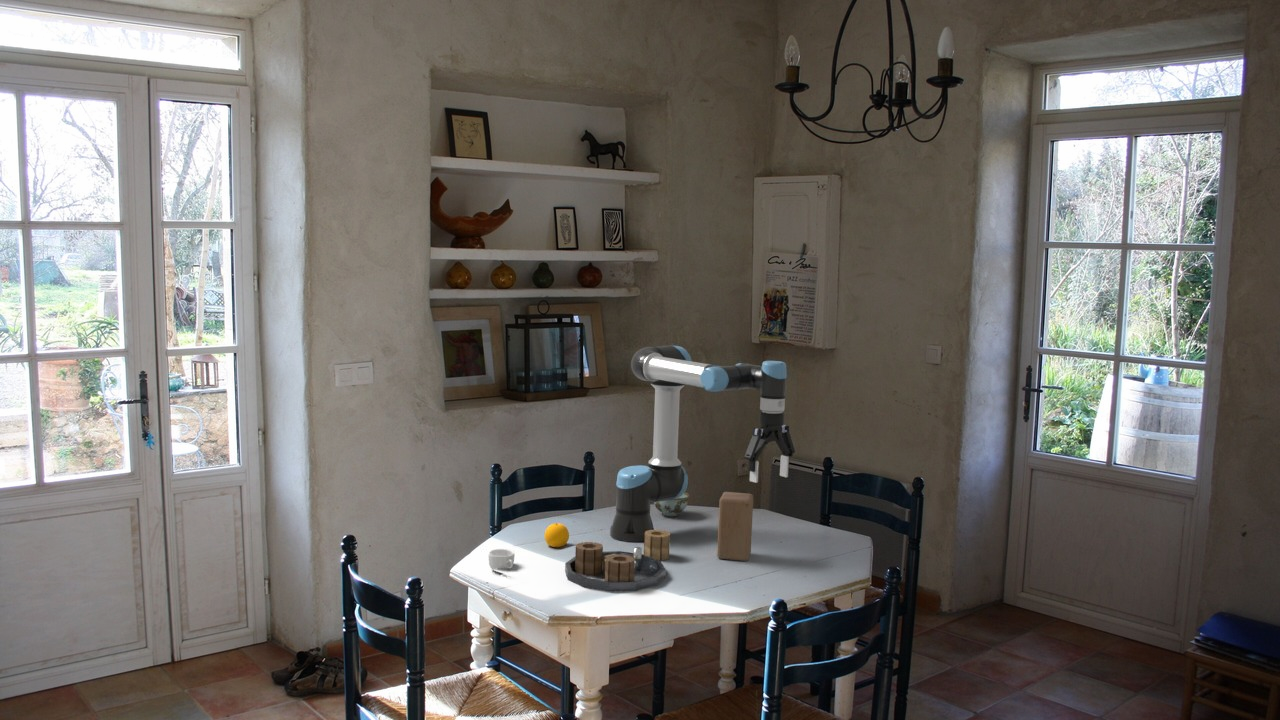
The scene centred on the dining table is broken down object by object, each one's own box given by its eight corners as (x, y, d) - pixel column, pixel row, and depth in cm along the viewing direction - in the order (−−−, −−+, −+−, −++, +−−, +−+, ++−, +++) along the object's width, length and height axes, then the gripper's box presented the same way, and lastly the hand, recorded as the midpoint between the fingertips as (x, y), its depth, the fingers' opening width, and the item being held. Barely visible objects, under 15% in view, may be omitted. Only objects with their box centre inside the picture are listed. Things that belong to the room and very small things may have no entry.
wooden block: (748, 562, 312) (751, 500, 310) (716, 559, 314) (719, 498, 312) (750, 553, 322) (753, 493, 319) (720, 550, 324) (723, 490, 321)
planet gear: (638, 555, 315) (639, 532, 315) (657, 550, 321) (658, 528, 320) (655, 561, 309) (656, 538, 309) (674, 557, 314) (675, 534, 314)
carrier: (546, 575, 293) (547, 548, 292) (622, 558, 312) (623, 533, 311) (606, 603, 271) (607, 575, 270) (684, 583, 290) (685, 557, 289)
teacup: (483, 568, 297) (483, 551, 296) (505, 564, 302) (505, 547, 301) (500, 577, 289) (501, 560, 289) (523, 573, 294) (523, 555, 294)
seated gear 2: (600, 585, 281) (601, 560, 280) (613, 577, 288) (613, 552, 287) (625, 590, 278) (626, 564, 277) (637, 582, 285) (638, 557, 284)
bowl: (649, 518, 360) (649, 496, 359) (654, 509, 373) (655, 488, 372) (686, 521, 358) (687, 499, 357) (690, 511, 371) (691, 491, 370)
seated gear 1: (569, 570, 294) (570, 545, 293) (587, 564, 300) (588, 540, 299) (589, 576, 288) (589, 551, 288) (607, 570, 295) (608, 546, 294)
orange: (553, 550, 317) (554, 528, 316) (539, 544, 323) (540, 522, 322) (573, 546, 322) (574, 524, 322) (559, 540, 328) (559, 518, 327)
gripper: (752, 416, 292) (749, 486, 294) (808, 410, 308) (804, 476, 310) (734, 412, 298) (731, 481, 300) (790, 406, 313) (786, 472, 316)
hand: (768, 479), depth 305 cm, fingers open, 13 cm apart
